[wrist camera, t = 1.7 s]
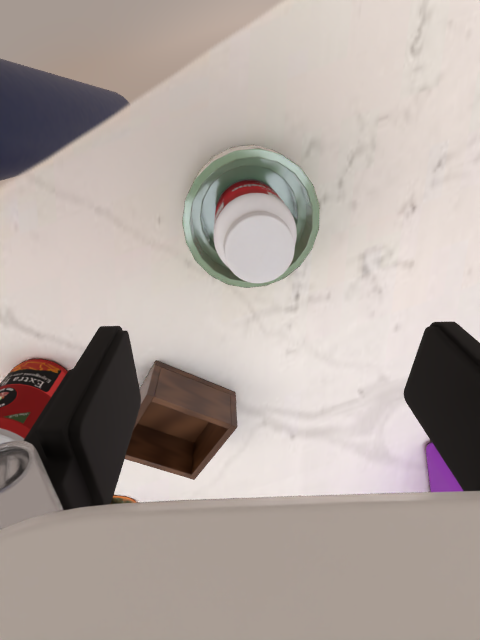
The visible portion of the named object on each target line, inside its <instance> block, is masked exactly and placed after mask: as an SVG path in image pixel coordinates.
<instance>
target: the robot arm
mask: <svg viewBox="0 0 480 640" xmlns="http://www.w3.org/2000/svg"><path fill="white" fill-rule="evenodd" d="M404 398H405V401H406V403H407V404H408V406H409V407H410V409H411V410H412V412H413V414H414V415H415V417H416V418H417V420H418V421H419V423H420V424H421V426H422V427H423V429H424V431H425V432H426V434H427V435H428V437H429V438H430V440H431V441H432V443H433V444H434V446H435V448H436V449H437V451H438V452H439V454H440V455H441V457H442V458H443V460H444V462H445V463H446V465H447V466H448V468H449V469H450V471H451V472H452V474H453V475H454V477H455V479H456V480H457V482H458V483H459V485H460V486H461V488H462V489H463V491H457V492H418V493H382V494H349V495H317V496H286V497H258V498H231V499H203V500H178V501H159V502H141V503H122V504H111V501H112V498H113V495H114V491H115V488H116V485H117V482H118V478H119V475H120V472H121V468H122V465H123V462H124V459H125V455H126V452H127V449H128V445H129V442H130V439H131V436H132V432H133V429H134V426H135V422H136V419H137V416H138V413H139V409H140V405H141V394H140V389H139V384H138V379H137V374H136V369H135V364H134V359H133V354H132V349H131V344H130V339H129V334H128V332H127V331H122V328H121V327H120V326H102V327H100V328H99V329H98V330H97V332H96V334H95V335H94V337H93V338H92V340H91V342H90V343H89V345H88V346H87V348H86V350H85V351H84V353H83V354H82V356H81V358H80V359H79V361H78V362H77V364H76V366H75V367H74V369H72V370H69V371H68V372H67V374H66V375H65V376H64V378H63V380H62V381H61V383H60V384H59V386H58V387H57V389H56V391H55V392H54V394H53V395H52V397H51V398H50V400H49V401H48V403H47V405H46V406H45V408H44V409H43V411H42V412H41V414H40V415H39V417H38V419H37V420H36V422H35V423H34V425H33V426H32V428H31V430H30V431H29V433H28V434H27V436H26V437H25V439H24V440H23V441H10V442H5V443H2V444H0V640H480V343H479V342H478V341H477V340H475V339H474V338H473V337H472V336H471V335H470V334H469V333H467V332H466V331H465V330H464V329H463V328H462V327H460V326H459V325H458V324H457V323H455V322H434V323H432V324H431V325H430V327H427V328H426V329H425V331H424V334H423V337H422V340H421V343H420V346H419V349H418V352H417V354H416V357H415V360H414V363H413V366H412V369H411V372H410V375H409V378H408V381H407V383H406V386H405V389H404Z"/></svg>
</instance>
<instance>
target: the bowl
mask: <svg viewBox="0 0 480 640" xmlns="http://www.w3.org/2000/svg"><path fill="white" fill-rule="evenodd" d="M242 179H256V180H260V181H262V182H264V183H266V184H268V185H269V186H270V187H271V188H272V189H273V190H274V191H275V192H276V193H277V194H278V196H279V197H280V198H281V200H282V201H283V202H284V204H285V205H286V206H287V207H288V209H289V210H290V212H291V214H292V216H293V218H294V221H295V224H296V230H297V238H296V243H295V251H294V257H293V260H292V262H291V264H290V266H289V267H288V269H287V270H286V271H285V272H284V273H283V274H282V275H281V276H279V277H278V278H276V279H275V280H272V281H269V282H266V283H250V282H247V281H244V280H242V279H240V278H238V277H237V276H236V275H235V274H234V273H233V272H232V271H231V270H230V268H229V267H227V266H226V265H225V264H224V263H223V261H222V260H221V259H220V257H219V256H218V253H217V251H216V249H215V245H214V221H215V210H216V205H217V202H218V199H219V197H220V195H221V194H222V192H223V191H224V190H225V189H226V188H227V187H228V186H229V185H230V184H232V183H234V182H236V181H238V180H242ZM319 211H320V208H319V203H318V200H317V196H316V193H315V190H314V186H313V184H312V183H311V182H310V180H309V179H308V177H307V176H306V175H305V173H304V172H303V170H302V169H301V168H300V167H299V166H298V165H296V164H295V163H293V162H292V161H291V160H289V159H288V158H286V157H285V156H283V155H282V154H280V153H278V152H276V151H274V150H272V149H268V148H264V147H260V146H256V145H246V146H237V147H231V148H229V149H227V150H225V151H223V152H221V153H219V154H217V155H215V156H214V157H212V158H211V159H210V160H209V161H208V162H207V163H206V164H205V165H204V166H203V167H202V168H201V169H200V170H199V172H198V174H197V176H196V178H195V180H194V182H193V184H192V186H191V188H190V190H189V193H188V195H187V197H186V200H185V206H184V213H183V228H184V234H185V239H186V243H187V246H188V247H189V249H190V251H191V253H192V255H193V257H194V259H195V260H196V262H197V263H198V264H199V265H200V266H201V267H202V268H203V269H204V270H205V271H206V272H207V273H208V274H209V275H211V276H212V277H214V278H216V279H218V280H220V281H222V282H224V283H226V284H228V285H234V286H239V287H245V288H250V287H259V286H266V285H269V284H271V283H274V282H276V281H279V280H281V279H284V278H285V277H286V276H288V275H289V274H290V273H292V272H293V271H294V270H295V269H297V268H298V267H299V266H300V265H301V264H302V262H303V261H304V260H305V258H306V257H307V255H308V254H309V253H310V251H311V250H312V248H313V245H314V242H315V239H316V236H317V233H318V230H319Z"/></svg>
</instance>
